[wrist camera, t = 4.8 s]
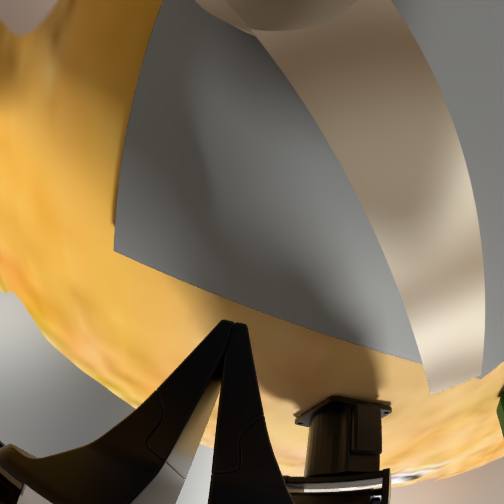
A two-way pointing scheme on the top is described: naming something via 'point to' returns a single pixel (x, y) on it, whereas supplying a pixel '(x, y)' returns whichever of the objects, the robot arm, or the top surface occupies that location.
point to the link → (388, 158)
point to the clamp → (501, 412)
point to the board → (295, 175)
